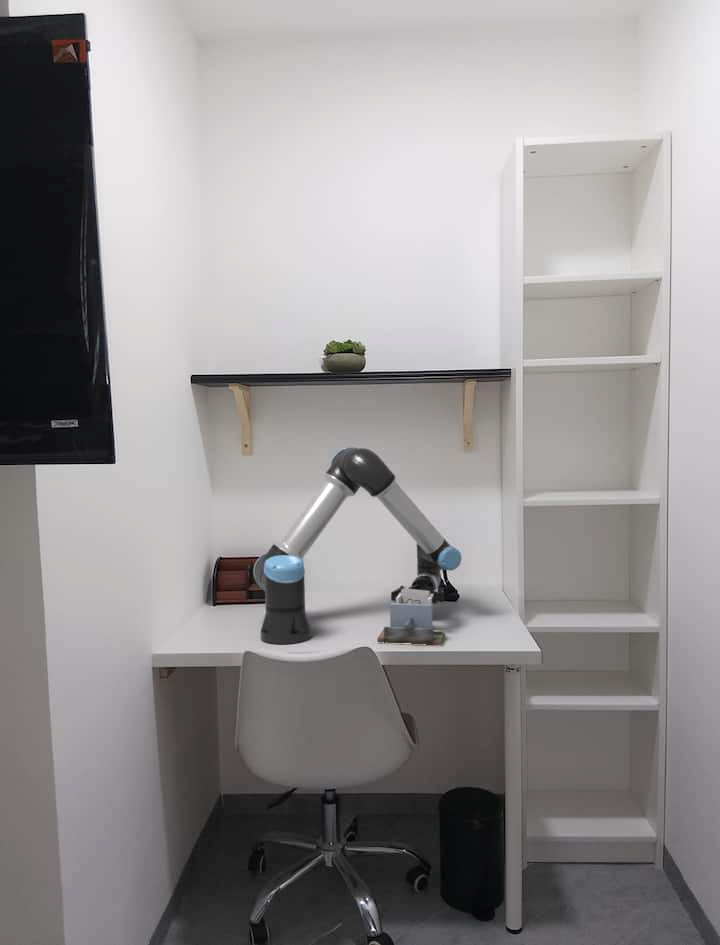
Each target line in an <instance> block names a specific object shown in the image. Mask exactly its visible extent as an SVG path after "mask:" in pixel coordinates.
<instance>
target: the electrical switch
mask: <svg viewBox="0 0 720 945" xmlns="http://www.w3.org/2000/svg"><path fill="white" fill-rule="evenodd" d="M430 595H431V594H430V591H426V590H415V589H408V588H405V589H402V590H401V604H428V598H429V597H430Z"/></svg>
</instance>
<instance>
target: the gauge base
mask: <svg viewBox="0 0 720 945" xmlns="http://www.w3.org/2000/svg"><path fill="white" fill-rule="evenodd" d="M434 631H435V632H443V634H434ZM445 633H446V632H445V630H442V629H440V630H437V629H434V627H432V628H410V627H408V628H405V627H390V626H384V627H383V629H382V631H381V632H380V634H379V636H377V638H376V639H377V642H384V643H386V642H387V643H411V644H426V645H425V646H428V645H441V646H442V644H441V643H443V641H444V639H443V638H445V636H446V634H445Z"/></svg>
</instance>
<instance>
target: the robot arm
mask: <svg viewBox="0 0 720 945" xmlns="http://www.w3.org/2000/svg"><path fill="white" fill-rule="evenodd" d="M330 461H331V462H330V467H329V468H328V469H327V470H326V472H325V473H324V477H325V479H324V480H325V481H324V483H323V484H322V486H321V487H320V488H319V489H318V491H317V493H316V494H315V495H314V496H313V498H312V499H311V501H309V503H308V504H307V506H306V507H305V509H304V510H303V512H302V513H301V514H300V515H299V517H298V518H297V520H296V521H295V522H294V524H293V525H292V526H291V528H290V529H289V530H288V531H287V533H286V534H285V535H284V537H283V539H282V540H281V541H278V542H276V543H275V542H274V543H273V544H272V546H271V547H270V548H269V550H268V551H267V552H266V553H263V554H262V555H260V556H259V558H257V559H256V561H255V563H254V566H253V578H254V580H255V583H256V585H257V587H259V588H260V589H261V590H263V592H264V596H265V600H264V603H265V614H264V617H263V621H262V625H261V628H260V631H259V632H260V640H261V639H262V640H263V641H262V640H261V641H262V642H264V641H265V642H264V643H268V644H273V645H274V644H275V645H291V644H297V643H302V642H305V641H307V640H309V639H311V638H312V637H313V632H312V630H313V629H312V626H311V623H310V621H309V620H310V619H309V617H308V614H307V611H306V593H305V592H306V589H305V587H306V586H305V585H306V584H305V573H306V570H305V567H304V566H305V564H304V557H305V556H306V555H307V553H308V551H309V550H310V549H311V548H312V546H313V544H314V543H316V541H317V539H318V538H319V537H320V535H322V532H323V531H324V530H325V528H327V525H328V524H329V523H330V521H331V520H332V519H333V517H334V516H335V515H336V513H337V512H338V510H339V509H340V507H341V506H342V505H343V504H344V502H345V501H346V499H347V498H348V497H354V496H355V495H356V493H357V492H358V491H359V489H360V488H363V489H364V490H365V492H367V493H368V494H369V495H370V496H371V497H372V498H377V499H378V501H380V502H381V503H382V505H383V506H384V507H385V508H386V510H388V512H389V513H390V514H391V516H393V517H394V518H395V520H396V521H397V522H398V523H399V524H400V525H401V527H402V528H403V529H404V530H405V531H406V532H407V533H408V535H410V537H411V538H412V539H413V540H414V541H415V542H416V546H415V547H416V559H417V562H416V566H417V570H416V571H417V576H416V578H415V579H414V580H413V582H412V584H411V586H409V587H408V588H407V589H415V590H426V591H430V594H431V595H430V597H429V598H428V604H431V605H432V606H433V605H434V604H437V603H439V602H440V603H445V593H444V587H442V586H440V585H441V583H442V575H441V574H442V573H441V572H440V570H444V571H445V570H446V571H449V572H450V571H455V570H457V569H458V567H459V566H460V565H461V562H462V559H463V558H462V554H461V552H460V550H459V549H457V548H456V547H455V546H452V545H451V544H450V543H449V542H448V541H447V540H446V538H444V537H443V536H442V535H443V534H441V533H440V532H439V531H438V530H437V529H436V527H435V526H434V525H433V524H432V523H431V521H430V520H429V519H428V517H426V515H425V514H424V513H423V512H422V510H421V509H419V507H418V506H417V505H416V504H415V503H414V501H413V500H412V499H411V498H410V497H409V495H408V494H407V493H406V492H405V491H404V490H403V488H402V487H401V486H400V484H398V483H397V481H396V475H395V474H394V473H393V472H392V470H391V469H390V468H389V467H388V465H386V463H385V462H384V461H383V460H382V458H381V457H380V456H379V455H378V454H376V452H374V451H373V450H371V449H369V448H364V447H359V448H358V447H353V446H351V447H346V448H343V449H340V450H339V451H337V452H336V453H335V454H334V455H333V457H332V459H331V460H330ZM439 586H440V587H439ZM402 589H406V586H404V585H401V586H400V587H399V588H397V589H395V590H392V591H391V592H390V593H391V594H390V599H391V600H390V601H391V602H392V601H393V602H394V603H399V604H401V590H402Z"/></svg>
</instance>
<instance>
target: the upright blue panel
mask: <svg viewBox="0 0 720 945" xmlns="http://www.w3.org/2000/svg"><path fill="white" fill-rule="evenodd" d="M389 616H390V617H389V618H390V619H389V621H390V622H389V624H390V626H389V627H405V628H408V627H410V628H433V605H431V604H399V603H396V602H394V603H393V602H391V603H390V604H389ZM434 634H443V632H435V631H434Z"/></svg>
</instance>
